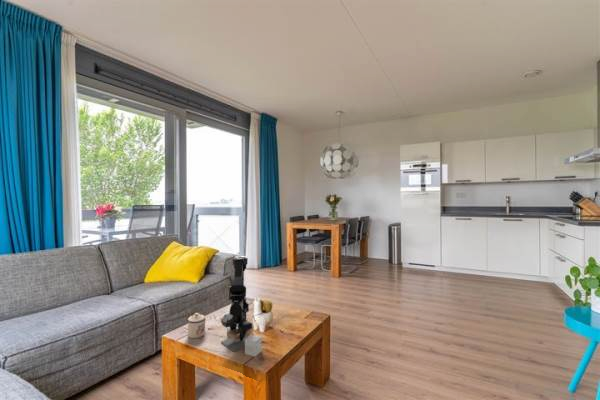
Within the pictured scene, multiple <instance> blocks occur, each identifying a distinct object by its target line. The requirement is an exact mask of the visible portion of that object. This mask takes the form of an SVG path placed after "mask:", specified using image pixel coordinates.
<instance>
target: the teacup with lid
mask: <svg viewBox="0 0 600 400" xmlns="http://www.w3.org/2000/svg"><path fill="white" fill-rule="evenodd" d="M187 325H188V326H187V336H188V337H189V338H190V339H197V338H198V339H199V338H201V337H203V336H205V332H206V316H205V315H203V314H200V313H198V312H195V313H194V314H193V315H191V316H189V317H188V318H187Z"/></svg>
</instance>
